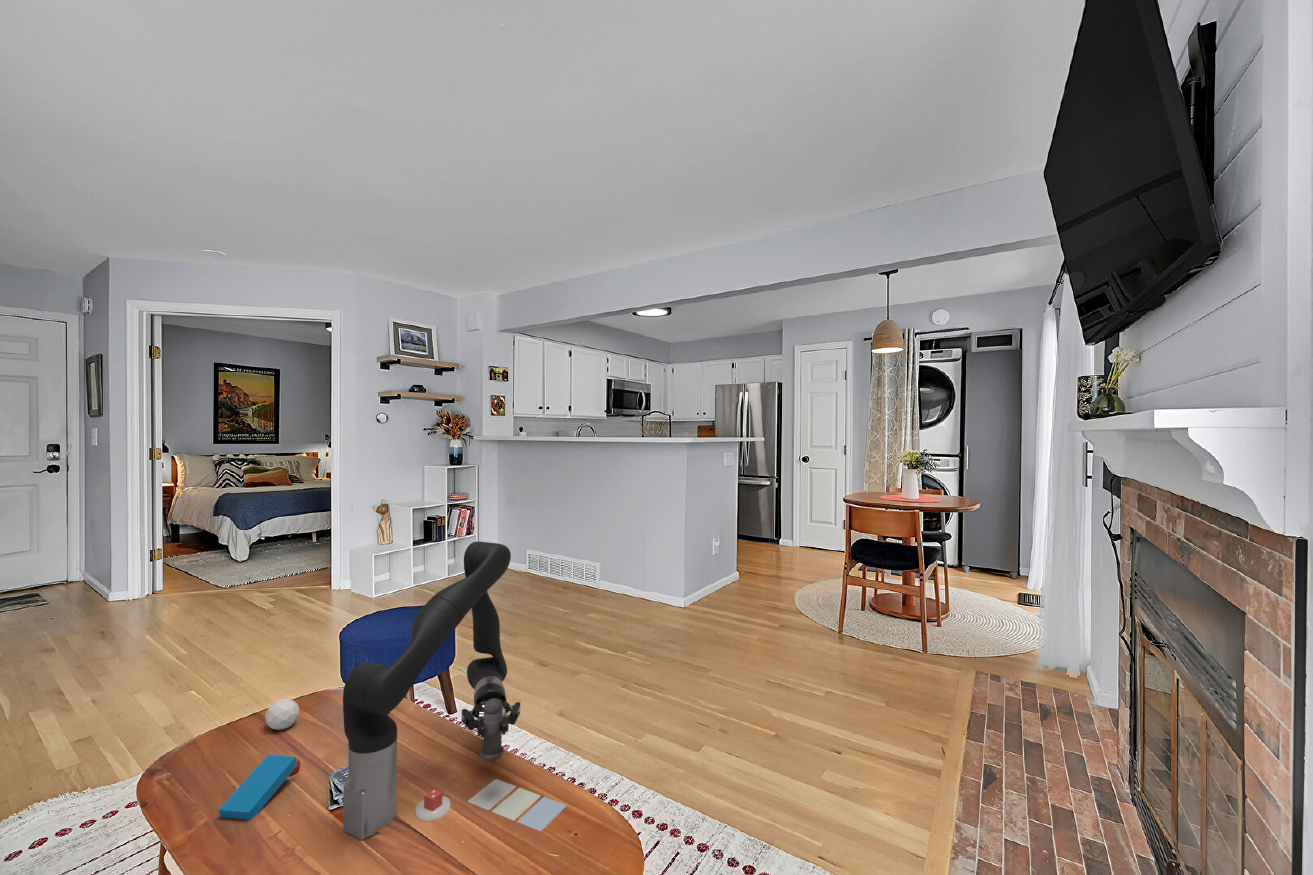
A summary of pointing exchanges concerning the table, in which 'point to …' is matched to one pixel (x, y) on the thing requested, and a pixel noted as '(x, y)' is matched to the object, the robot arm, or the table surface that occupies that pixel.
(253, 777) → the lever
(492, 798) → the game board
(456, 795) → the table surface
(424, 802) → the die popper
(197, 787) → the table surface
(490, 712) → the charcoal pawn
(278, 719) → the geometric ball
